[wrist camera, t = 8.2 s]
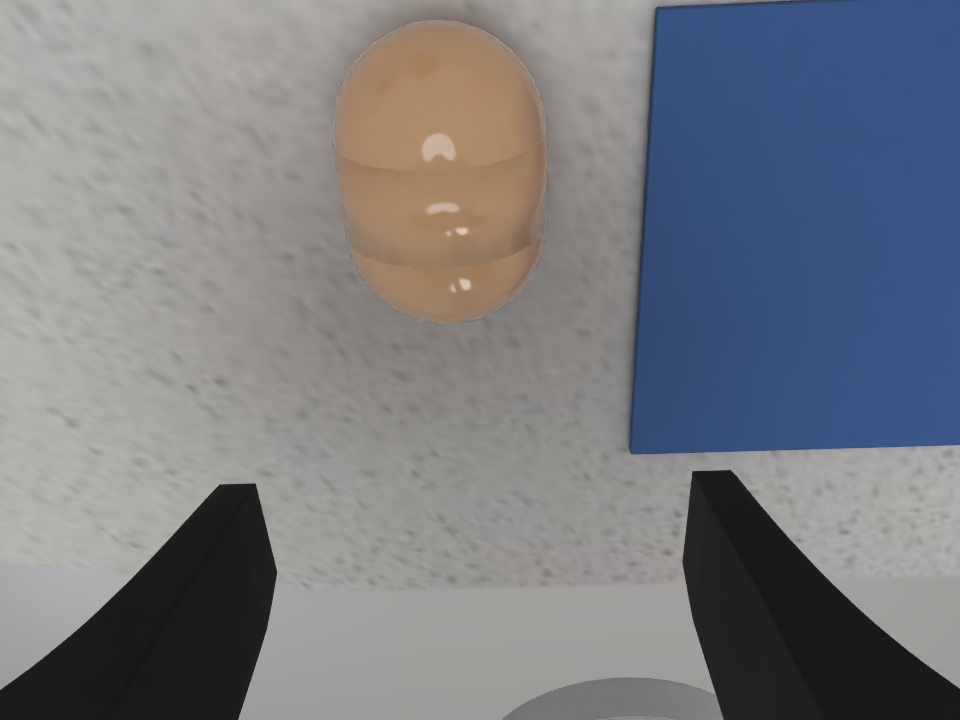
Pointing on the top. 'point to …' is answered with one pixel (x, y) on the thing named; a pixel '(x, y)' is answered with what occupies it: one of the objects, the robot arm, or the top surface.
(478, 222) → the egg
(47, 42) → the top surface
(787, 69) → the cloth
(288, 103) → the top surface
